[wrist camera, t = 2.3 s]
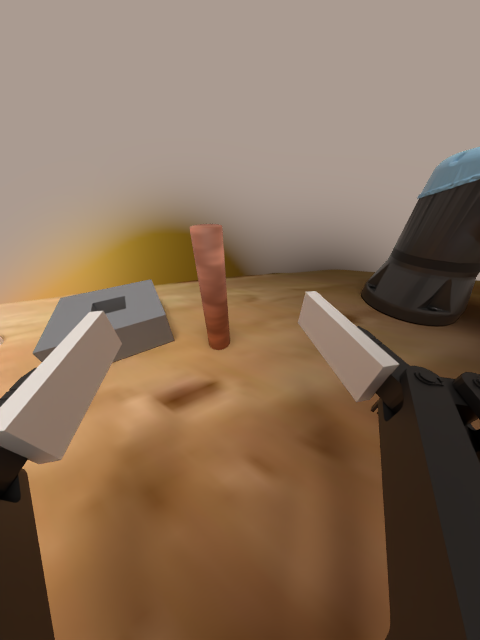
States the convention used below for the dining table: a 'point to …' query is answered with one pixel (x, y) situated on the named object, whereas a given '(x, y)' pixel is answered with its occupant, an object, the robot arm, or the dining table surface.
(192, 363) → the dining table surface
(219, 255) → the dowel
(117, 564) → the dining table surface
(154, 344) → the socket block
